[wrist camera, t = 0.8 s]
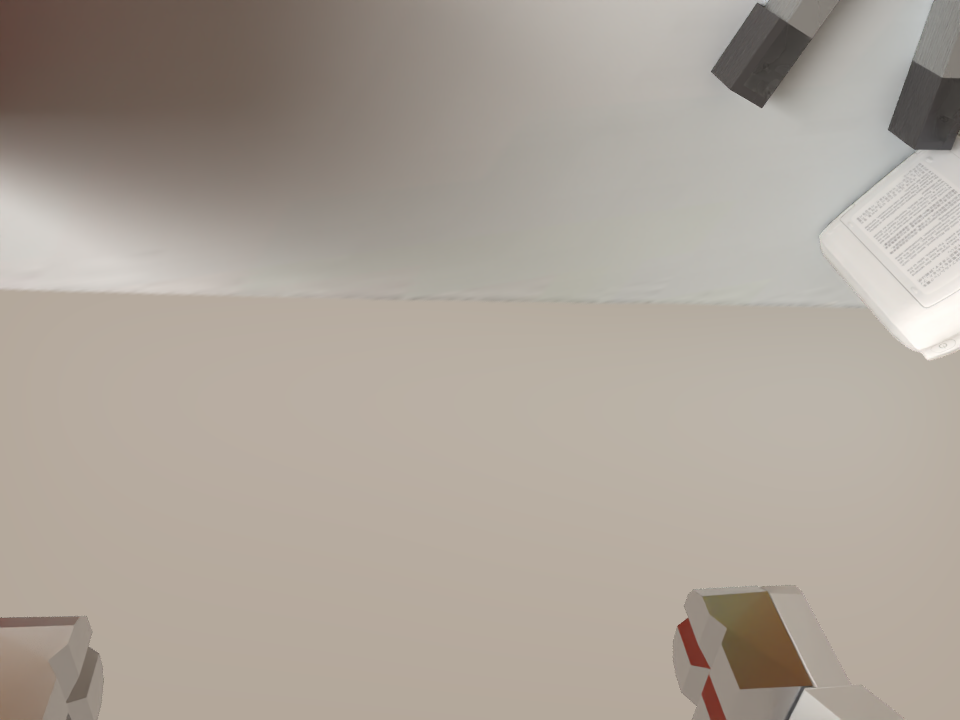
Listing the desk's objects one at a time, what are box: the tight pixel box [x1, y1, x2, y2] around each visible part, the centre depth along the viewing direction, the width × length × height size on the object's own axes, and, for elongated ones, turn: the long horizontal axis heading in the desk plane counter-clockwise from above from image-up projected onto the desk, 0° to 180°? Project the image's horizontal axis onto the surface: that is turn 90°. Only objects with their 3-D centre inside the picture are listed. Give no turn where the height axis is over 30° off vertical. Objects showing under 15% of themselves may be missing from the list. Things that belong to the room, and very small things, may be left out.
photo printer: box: [819, 135, 960, 361], centre depth 47 cm, size 10×4×12 cm, turn 138°
